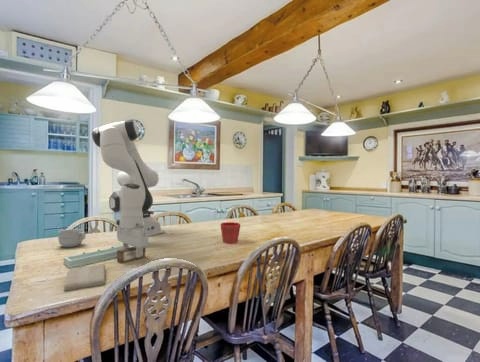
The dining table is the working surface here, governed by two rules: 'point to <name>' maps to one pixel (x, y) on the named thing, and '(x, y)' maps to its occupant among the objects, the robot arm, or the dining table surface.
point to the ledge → (92, 257)
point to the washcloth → (85, 277)
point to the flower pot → (230, 232)
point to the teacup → (71, 237)
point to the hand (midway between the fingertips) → (132, 254)
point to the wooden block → (128, 255)
